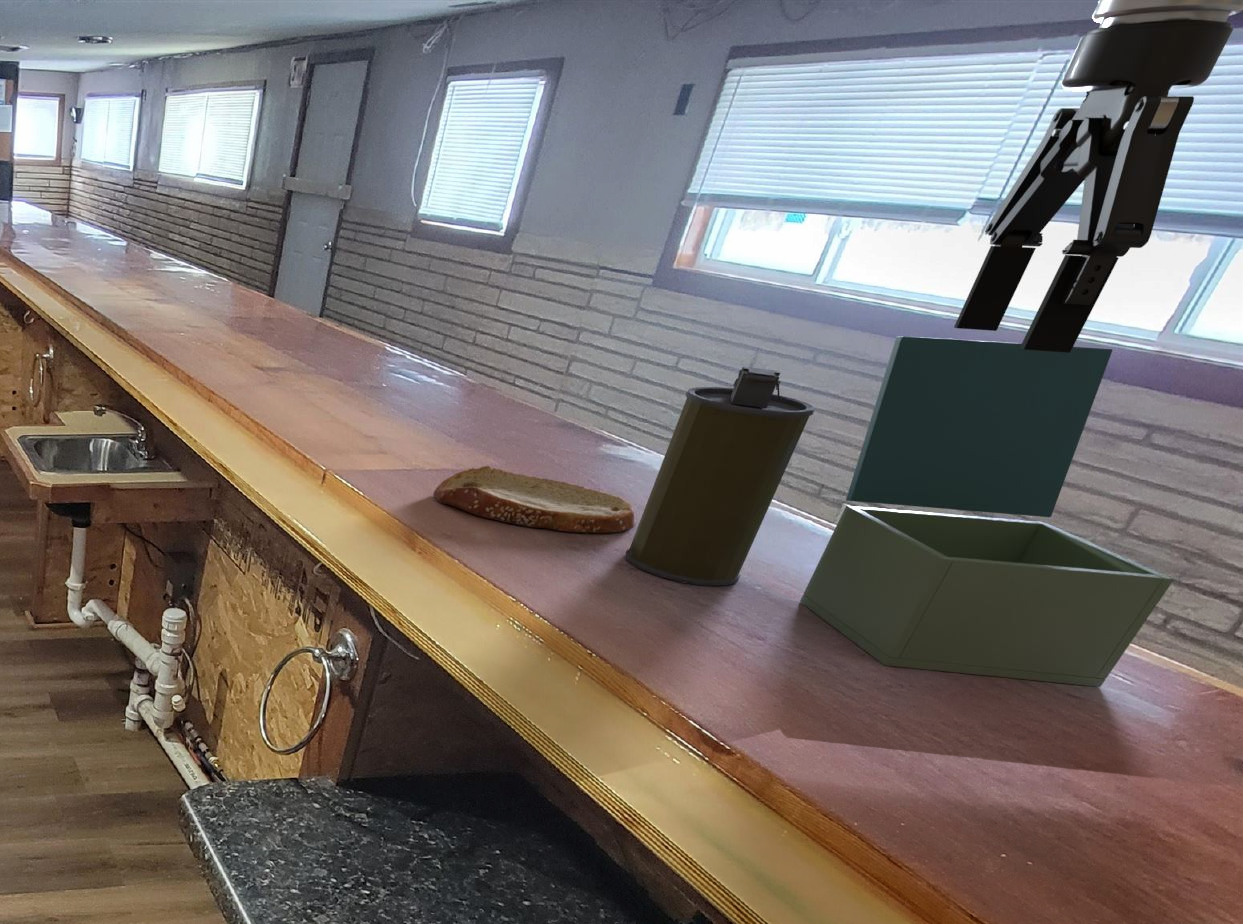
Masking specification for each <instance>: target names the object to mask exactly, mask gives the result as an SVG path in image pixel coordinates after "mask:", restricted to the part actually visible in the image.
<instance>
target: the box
mask: <svg viewBox="0 0 1243 924" xmlns="http://www.w3.org/2000/svg"><path fill="white" fill-rule="evenodd" d="M1174 580H1175V579H1174V578H1172V577H1170V576H1168V575H1165V574H1163V573H1160V572H1158V571H1156V570H1154V569H1151V568H1149V567H1147V566H1145V565H1142V564H1141V563H1138V562H1136V561H1133V560H1131V559H1129V558H1127V557H1125V556H1122V555H1121V554H1117V553H1115V552H1114V551H1111V550H1108V549H1106V548H1104V547H1101V546H1100V545H1097V544H1095V543H1092V542H1090V541H1088V540H1086V539H1084V538H1081V537H1079V536H1077V535H1075V534H1072V533H1070V532H1067V531H1065V530H1063V529H1061V528H1058V527H1057V526H1055V525H1052V524H1050V523H1047V522H1046V521H1036V520H1024V519H1015V518H1014V519H1013V518H1003V517H1002V518H1001V517H990V516H988V517H987V516H975V515H964V514H953V513H952V514H951V513H939V512H927V511H916V510H906V509H905V510H903V509H894V508H893V509H892V508H879V507H867V506H854V505H846V506H845V507H844V509H843V512H842V513H841V516H840V518H839V520H838V522H837V524H836V526H835V528H834V530H833V532H832V534H831V536H830V538H829V541H828V542H827V544H826V547H825V549H824V551H823V552H822V554H821V557H820V559H819V561H818V563H817V565H816V567H815V569H814V571H813V573H812V575H811V577H810V580H809V582H808V583H807V586H806V588H805V590H804V592H803V595H802V596H801V598H800V600H799V602H800V603H801V605H803V606H805V607H806V608H807V609H809V610H810V611H812V612H813V613H814V614H816V616H818V617H819V618H821V620H824V621H825V622H826V623H828V624H829V625H830V626H832V627H833V628H834V629H835V630H836V631H838V632H839V633H841V634H842V635H844V636H845V637H846V638H847V639H849V640H850V641H851V642H853V643H854V644H855V645H856V646H858V647H860V648H861V649H862V650H863V651H865V652H866V653H868V654H869V655H870V656H872V657H873V658H874V659H875V660H877V661H878V662H879V663H881V664H882V665H883V666H887V667H898V668H907V669H908V668H909V669H915V670H927V671H938V672H947V673H955V674H956V673H957V674H967V675H978V676H985V677H986V676H988V677H996V678H1006V679H1018V680H1027V681H1036V682H1045V683H1046V682H1047V683H1057V684H1067V685H1075V686H1076V685H1078V686H1088V687H1095V688H1096V687H1097V688H1100V687H1102V685H1103V684H1104V683H1105V681H1106V679H1107V678H1108V677H1109V675H1110V674H1111V672H1112V671H1113V670H1114V668H1115V667H1116V665H1117V664H1118V662H1119V661H1120V659H1121V658H1122V657H1123V655H1124V653H1126V651H1127V649H1128V647H1129V646H1130V644H1132V642H1133V641H1134V639H1135V638H1136V636H1137V635H1138V633H1139V632H1140V630H1141V628H1142V627H1143V626H1144V625H1145V623H1146V622H1147V620H1148V619H1149V617H1150V615H1151V614H1152V612H1153V611H1154V610H1155V608H1156V607H1157V605H1158V604H1159V602H1160V601H1161V600H1162V598H1163V597H1164V595H1165V594H1166V592H1167V591H1168V589H1169V588H1170V586H1171V585H1172V584H1173V582H1174Z"/></svg>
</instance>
